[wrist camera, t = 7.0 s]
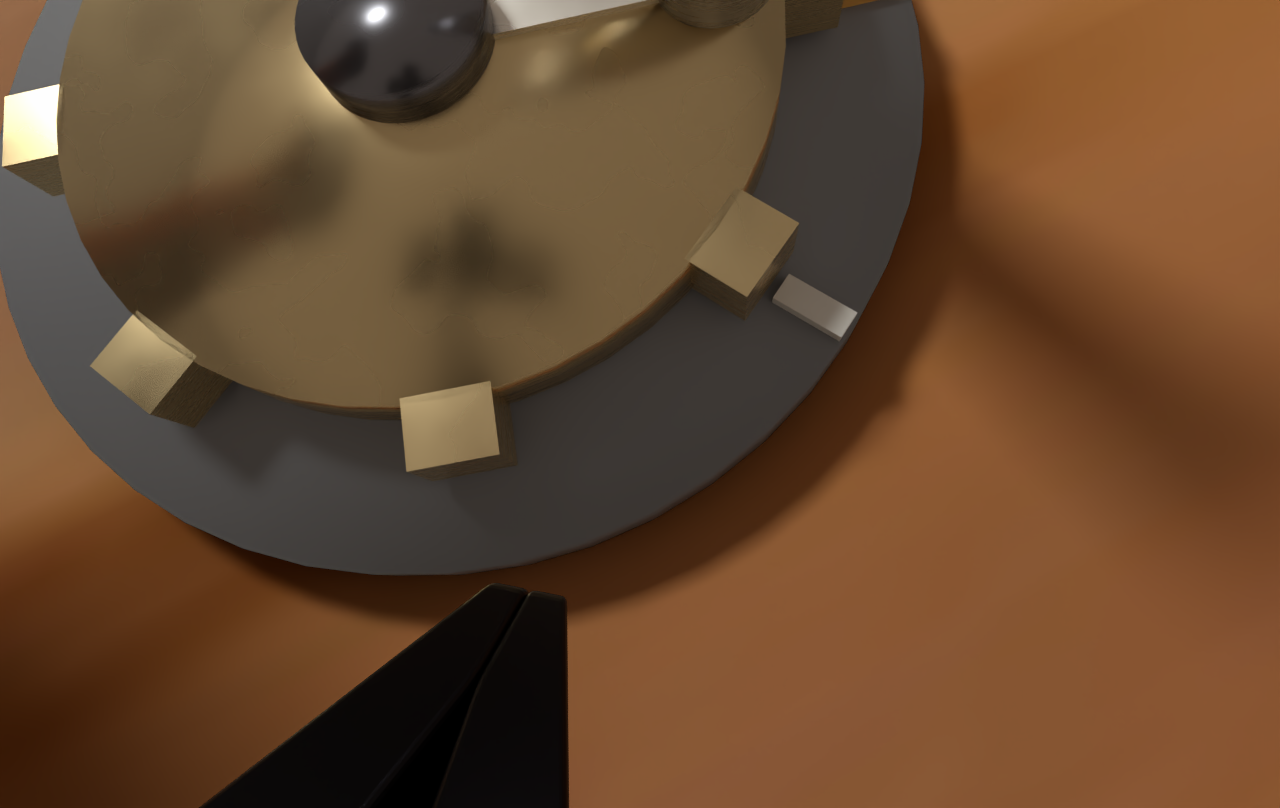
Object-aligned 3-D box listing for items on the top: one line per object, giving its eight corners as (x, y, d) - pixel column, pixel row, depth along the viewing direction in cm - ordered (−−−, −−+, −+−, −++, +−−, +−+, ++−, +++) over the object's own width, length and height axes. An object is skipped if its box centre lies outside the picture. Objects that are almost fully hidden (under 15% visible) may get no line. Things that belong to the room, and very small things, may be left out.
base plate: (1081, 368, 19) (1119, 345, 17) (114, 719, 19) (53, 733, 17) (713, -334, 25) (712, -403, 23) (-8, -56, 25) (-62, -104, 24)
